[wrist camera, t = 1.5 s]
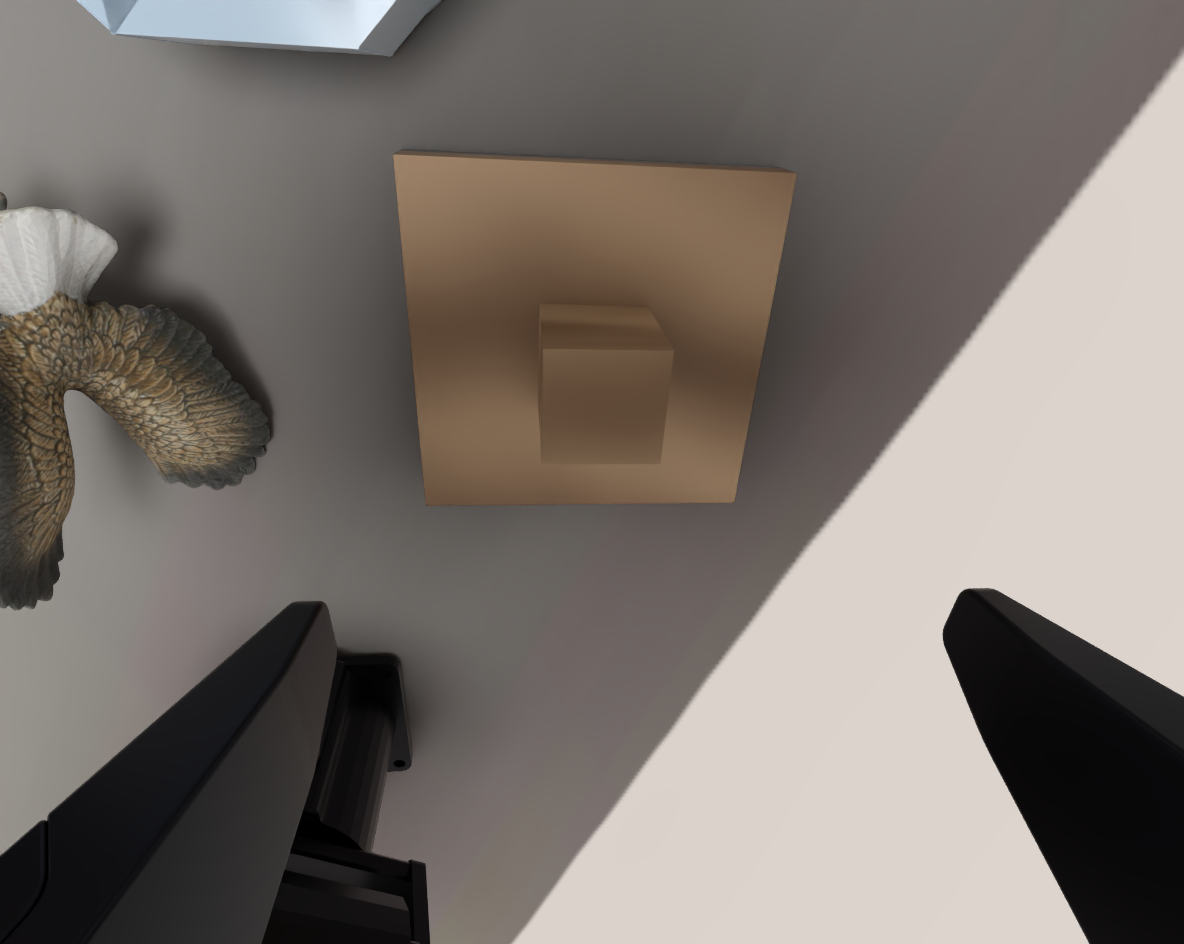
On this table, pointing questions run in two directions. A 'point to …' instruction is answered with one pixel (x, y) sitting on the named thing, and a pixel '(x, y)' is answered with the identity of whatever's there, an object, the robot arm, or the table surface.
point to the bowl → (268, 22)
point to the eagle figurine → (96, 389)
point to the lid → (586, 324)
